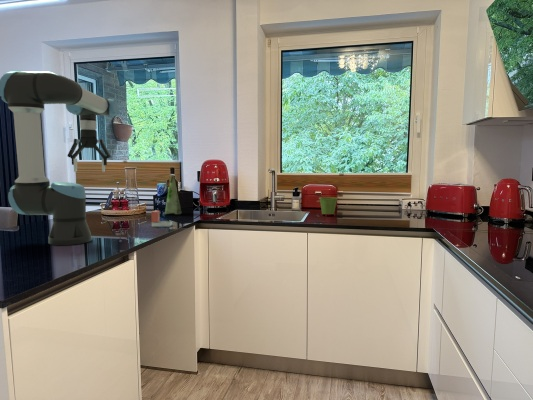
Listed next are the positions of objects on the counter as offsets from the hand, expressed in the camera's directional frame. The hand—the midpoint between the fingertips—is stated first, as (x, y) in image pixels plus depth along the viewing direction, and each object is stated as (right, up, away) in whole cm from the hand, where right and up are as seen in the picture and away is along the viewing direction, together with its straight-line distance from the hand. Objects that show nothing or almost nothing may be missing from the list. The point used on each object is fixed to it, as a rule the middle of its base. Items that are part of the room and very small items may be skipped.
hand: (89, 171), depth 195 cm
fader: (+35, -25, -4) cm, 43 cm away
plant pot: (+128, -25, +43) cm, 138 cm away
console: (+38, -27, -3) cm, 47 cm away
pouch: (+32, -23, +41) cm, 57 cm away
